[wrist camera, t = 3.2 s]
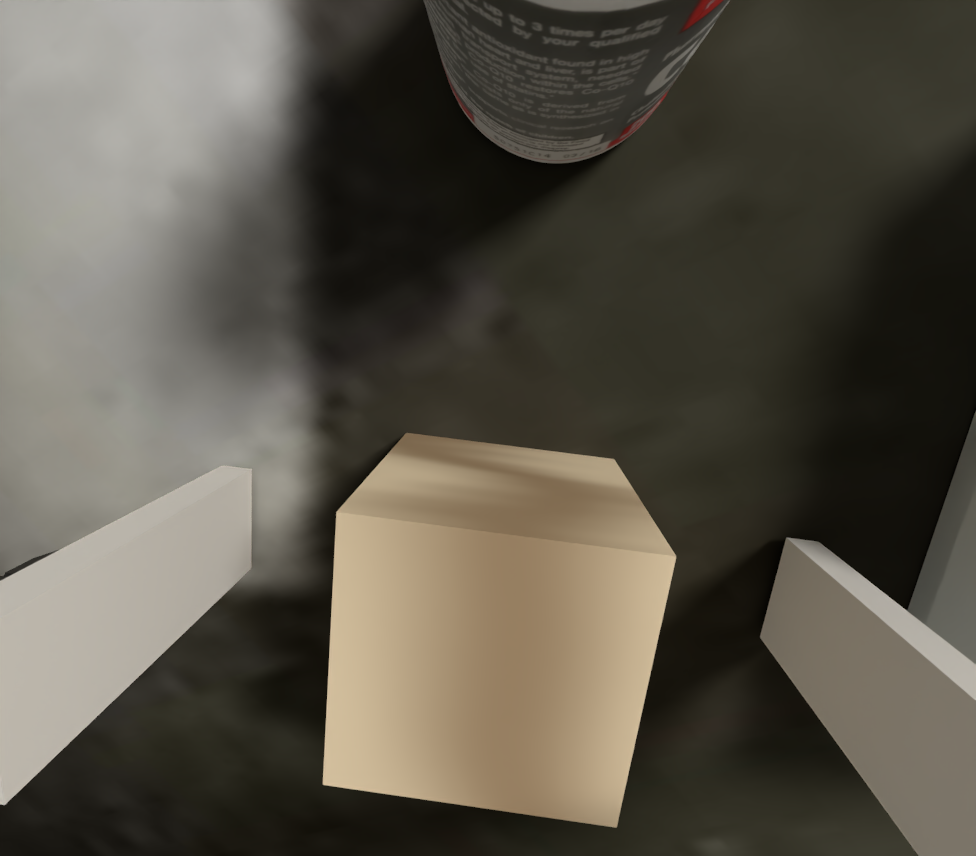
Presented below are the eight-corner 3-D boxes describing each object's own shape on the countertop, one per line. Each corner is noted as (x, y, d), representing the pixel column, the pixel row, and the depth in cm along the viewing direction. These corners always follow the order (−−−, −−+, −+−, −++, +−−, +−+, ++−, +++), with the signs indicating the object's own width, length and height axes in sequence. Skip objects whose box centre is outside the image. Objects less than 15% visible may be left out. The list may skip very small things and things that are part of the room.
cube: (392, 614, 14) (322, 785, 9) (406, 432, 12) (336, 512, 8) (580, 639, 13) (616, 827, 9) (613, 458, 12) (675, 556, 7)
